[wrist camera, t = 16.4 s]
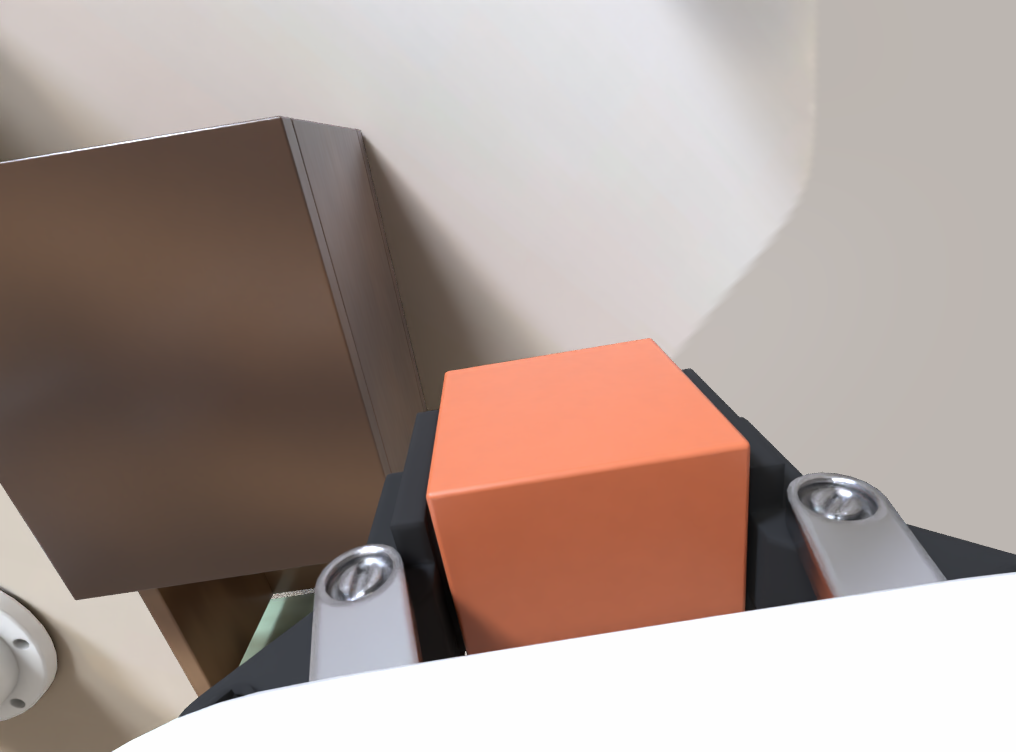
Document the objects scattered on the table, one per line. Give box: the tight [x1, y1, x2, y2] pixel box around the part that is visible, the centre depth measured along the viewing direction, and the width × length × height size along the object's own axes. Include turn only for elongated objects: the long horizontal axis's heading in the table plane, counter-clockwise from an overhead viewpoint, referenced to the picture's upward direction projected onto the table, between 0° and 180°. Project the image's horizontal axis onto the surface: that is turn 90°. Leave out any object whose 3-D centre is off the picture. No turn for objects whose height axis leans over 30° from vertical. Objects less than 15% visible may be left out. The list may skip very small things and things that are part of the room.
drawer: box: [138, 563, 329, 697], centre depth 27 cm, size 19×11×8 cm, turn 8°
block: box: [426, 338, 750, 655], centre depth 10 cm, size 4×4×4 cm
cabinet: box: [0, 116, 427, 600], centre depth 21 cm, size 15×13×10 cm
